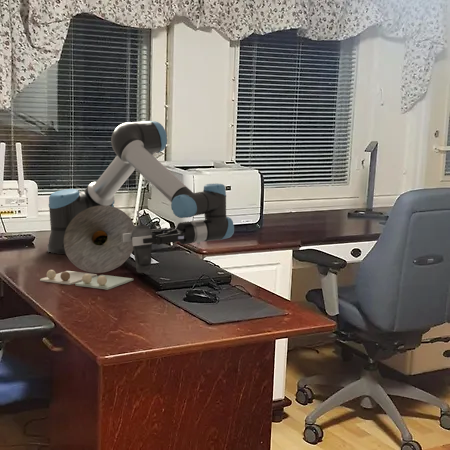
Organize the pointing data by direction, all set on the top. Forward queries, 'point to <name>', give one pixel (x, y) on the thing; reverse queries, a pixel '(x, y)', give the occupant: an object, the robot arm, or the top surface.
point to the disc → (98, 239)
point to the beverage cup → (142, 248)
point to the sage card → (108, 284)
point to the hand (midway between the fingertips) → (128, 239)
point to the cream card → (71, 280)
